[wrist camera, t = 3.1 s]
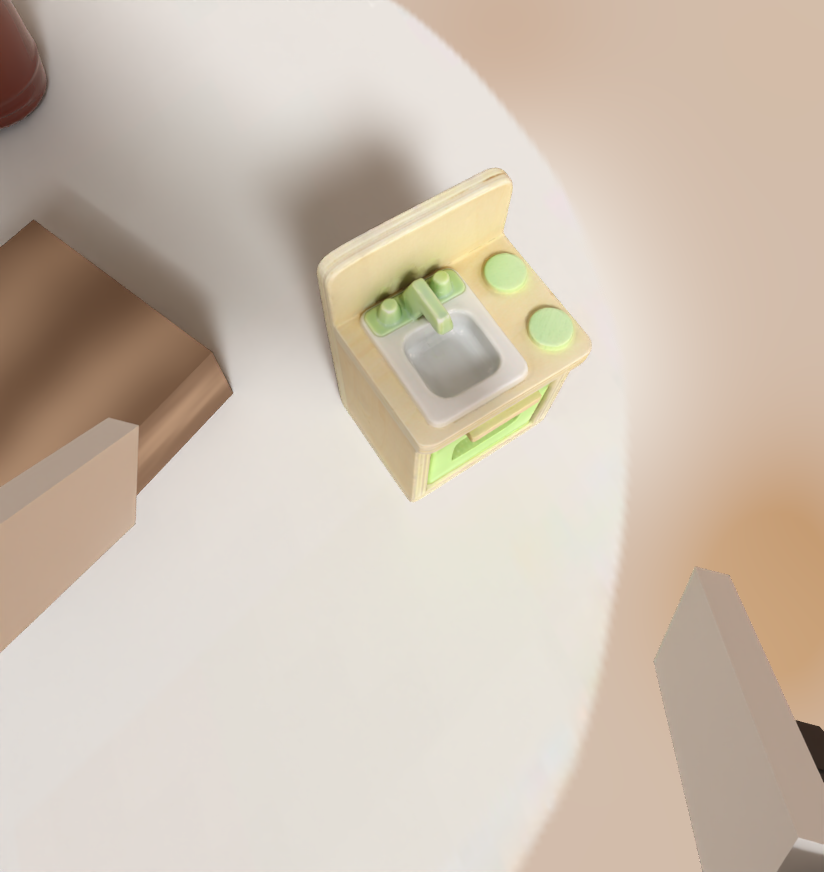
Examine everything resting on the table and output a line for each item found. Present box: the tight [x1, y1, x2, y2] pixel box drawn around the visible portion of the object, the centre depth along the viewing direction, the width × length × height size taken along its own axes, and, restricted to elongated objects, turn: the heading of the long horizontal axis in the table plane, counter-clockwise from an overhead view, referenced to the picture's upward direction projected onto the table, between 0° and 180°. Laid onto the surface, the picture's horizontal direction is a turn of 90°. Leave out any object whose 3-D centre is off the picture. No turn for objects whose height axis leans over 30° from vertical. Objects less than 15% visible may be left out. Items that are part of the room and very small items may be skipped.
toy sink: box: [317, 168, 592, 502], centre depth 30 cm, size 8×7×13 cm
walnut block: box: [0, 220, 233, 496], centre depth 34 cm, size 12×12×5 cm
